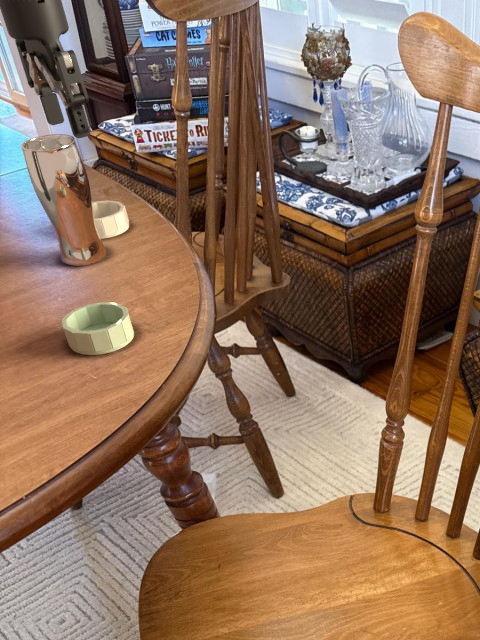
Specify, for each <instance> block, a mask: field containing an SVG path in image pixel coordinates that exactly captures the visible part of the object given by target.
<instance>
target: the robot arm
mask: <svg viewBox="0 0 480 640" xmlns="http://www.w3.org/2000/svg"><path fill="white" fill-rule="evenodd" d="M0 12H1V15H2V18H3V21H4V24H5V27H6V31H7V34H8V36H9V37H11V38H12V39H14V42H15V46H16V48H17V52H18V55H19V58H20V59H19V60H20V62H21V65H22V68H23V71H24V74H25V78H26V81H27V84H28V86H29V88H30V89H33V90H34V92H35V94H36V95H37V96H38V97H39V100H40V103H41V107H42V110H43V112H44V115H45V118H46V121H47V124H48V125H50V126H57V125H60V124H63V123H64V122H65V118H64V115H63V110H62V108H61V105H60V102H59V99H60V100H61V102H62V104H63V106H64V109H65V112H66V116H67V120H68V123H69V126H70V129H71V133H72V136H73V137H74V138H75V139H83V138H87V137H89V136H91V128H90V126H89V123H88V119H87V116H86V113H85V112H86V111H85V108H84V105H85V104H87V103H89V102H90V98H89V95H88V91H87V88H86V85H85V81H84V78H83V75H82V72H81V68H80V65H79V62H78V59H77V55H76V52H75V51H74V50H73V49H69V50H64V47H63V45H62V43H61V41H60V37H61V35H65V34H67V33H68V31H69V29H70V25H69V23H68V18H67V16H66V12H65V8H64V4H63V1H62V0H0ZM58 96H59V97H58Z"/></svg>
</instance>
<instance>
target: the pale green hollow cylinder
mask: <svg viewBox="0 0 480 640" xmlns="http://www.w3.org/2000/svg"><path fill="white" fill-rule="evenodd" d="M61 326H62V327H61V328H62V330H63V333H64V335H65V338H66V341H67V343H68V346H69V348H70V349H71V350H72V351H73V352H75V353H77V354H80V355H85V356H98V355H105V354H110V353H113V352H116V351H118V350H120V349H122V348H124V347H126V346H127V345H128V344H130V343H131V342H132V340H133V339H134V337H135V331H134V327H133V324H132V320H131V317H130V313H129V310H128V308H127V306H124V305H122V304H120V303H118V302H111V301H110V302H108V301H100V302H99V301H98V302H93V303H88V304H84V305H81V306H79V307H77V308H75V309H73V310H70V311H69V312H67V314H66V315H64V317H63V318H62V319H61Z"/></svg>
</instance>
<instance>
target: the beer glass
mask: <svg viewBox="0 0 480 640" xmlns="http://www.w3.org/2000/svg"><path fill="white" fill-rule="evenodd" d="M20 146H21V151H22V154H23V158H24V161H25V165H26V169H27V172H28V173H27V174H28V176H29V178H30V182H31V184H32V187H33V190H34V192H35V194H36V197H37V199H38V201H39V203H40V205H41V206H42V209H43V211H44V213H45V214H46V216H47V218H48V220H49V222H50V223H51V225H52V227H53V231H54V232H55V235H56V238H57V241H58V246H59V253H60V259H61V261H62V263H63V264H64V265H65V264H66V265H67V266H73V267H81V266H88V265H92V264H96V263H97V262H100V261H102V260H104V259H105V257H106V255H107V249H106V247H105V245H104V243H103V241H102V239H100V237H99V234H98V232H97V229H96V225H95V221H94V214H93V206H92V202H93V199H92V192H91V191H92V190H91V186H90V181H89V177H88V173H87V169H86V166H85V163H84V160H83V158H82V155H81V153H80V150H79V147H78V145H77V142H76V137H74V135H70V134H63V133H54V134H53V133H52V134H44V135H39V136H34V137H32V138H29V139H26V140H25V141H23V142H22V144H21V145H20Z"/></svg>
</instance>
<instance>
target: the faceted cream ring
mask: <svg viewBox="0 0 480 640" xmlns="http://www.w3.org/2000/svg"><path fill="white" fill-rule="evenodd" d="M92 206H93V214H94V221H95V225H96V229H97V232H98V234H99V237H100V239H101V240H102V239H109V238H114V237H117V236H119V235H122V234H123V233H125V232H126V231H127V230H129V228H130V219H129V216H128V212H127V208H126V205H124V204H123V203H122V202H121V201H117V200H116V201H115V200H96V201H92Z"/></svg>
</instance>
